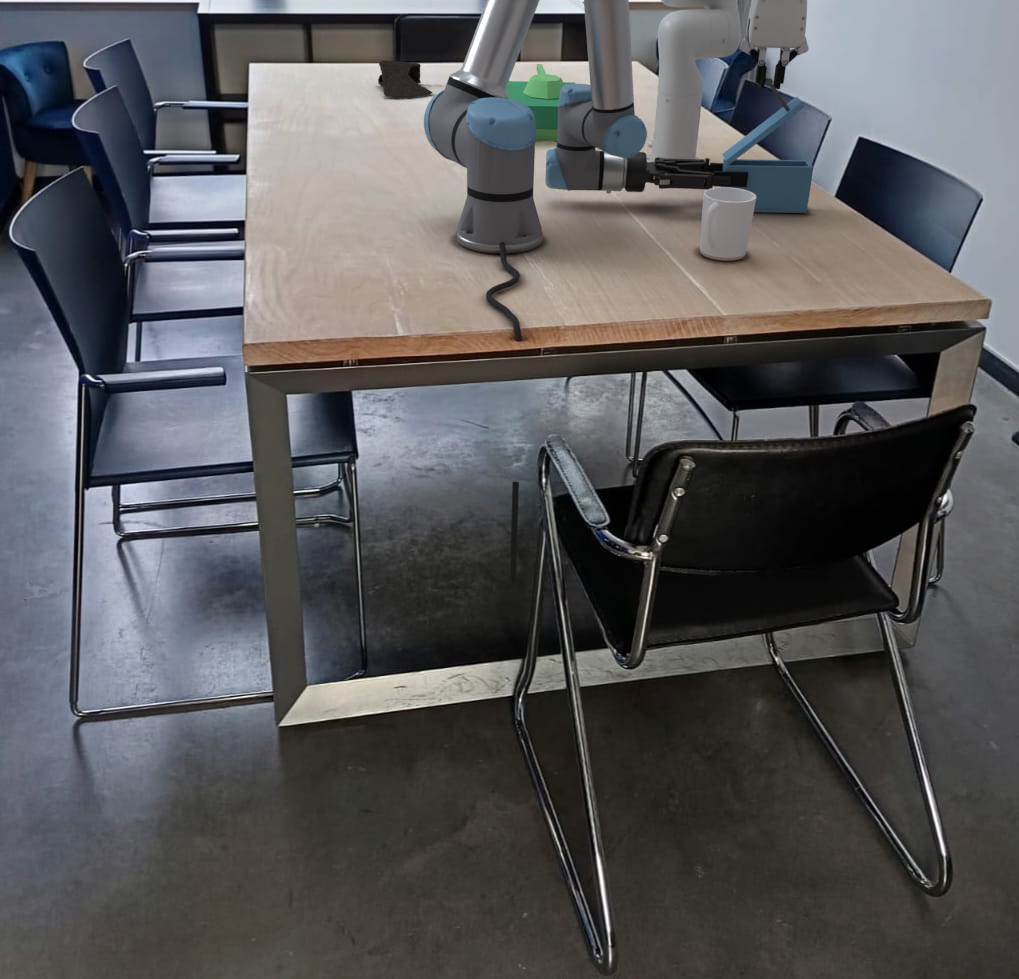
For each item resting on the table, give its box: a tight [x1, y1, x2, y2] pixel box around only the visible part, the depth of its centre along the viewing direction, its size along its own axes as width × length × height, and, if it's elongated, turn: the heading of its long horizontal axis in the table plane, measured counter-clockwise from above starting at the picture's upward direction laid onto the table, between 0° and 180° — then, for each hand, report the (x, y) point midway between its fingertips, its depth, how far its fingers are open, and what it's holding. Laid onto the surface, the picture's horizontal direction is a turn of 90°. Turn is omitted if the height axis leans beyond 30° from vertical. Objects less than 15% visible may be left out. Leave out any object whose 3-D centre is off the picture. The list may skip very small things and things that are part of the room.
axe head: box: [377, 59, 433, 99], centre depth 299 cm, size 18×8×15 cm
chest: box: [720, 158, 814, 214], centre depth 213 cm, size 16×5×9 cm, turn 87°
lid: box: [722, 73, 805, 165], centre depth 206 cm, size 17×5×8 cm
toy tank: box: [506, 63, 577, 142], centre depth 266 cm, size 18×12×35 cm
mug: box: [699, 186, 756, 262], centre depth 189 cm, size 11×9×10 cm
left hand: (744, 175), depth 212 cm, fingers closed on chest, 5 cm apart
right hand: (768, 86), depth 203 cm, fingers closed, pressing on lid
